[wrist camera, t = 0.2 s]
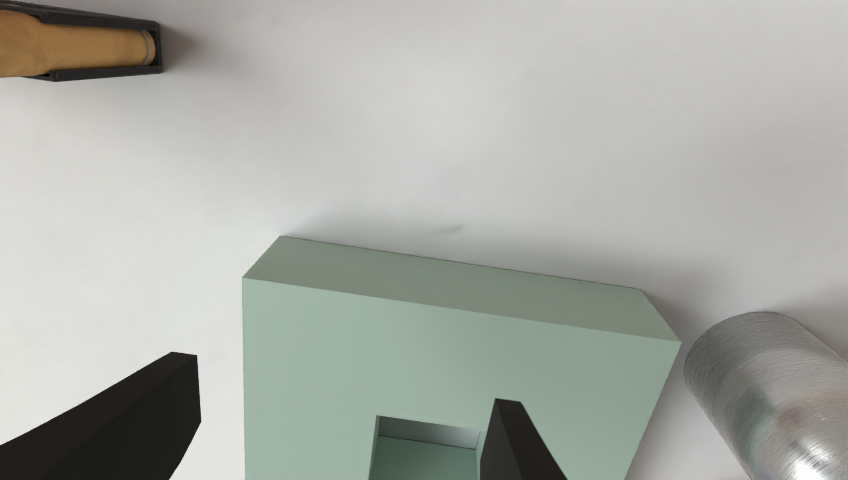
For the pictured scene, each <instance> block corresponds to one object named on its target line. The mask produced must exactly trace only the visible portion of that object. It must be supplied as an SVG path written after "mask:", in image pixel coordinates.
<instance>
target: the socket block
mask: <svg viewBox="0 0 848 480" xmlns="http://www.w3.org/2000/svg"><path fill="white" fill-rule="evenodd" d="M242 309H243V372H244V435H245V480H480V458H481V454H482V450H483V446H484V442H485V438H486V434H487V429H488V425H489V421H490V417H491V413H492V409H493V405H494V400H495V398H499V399H506V400H513V401H520V402H521V403H522V404H523V406H524V407H525V409H526V411H527V413H528V415H529V416H530V418H531V420H532V422H533V424H534V425H535V427H536V429H537V431H538V432H539V434H540V436H541V438H542V439H543V441H544V443H545V444H546V446H547V448H548V449H549V451H550V453H551V454H552V456H553V458H554V459H555V461H556V462H557V464H558V465H559V467H560V469H561V470H562V472H563V473H564V475H565V476H566V478H567V479H568V480H624V479H625V477H626V474H627V472H628V469H629V467H630V465H631V462H632V460H633V458H634V455H635V453H636V451H637V448H638V446H639V443H640V441H641V439H642V436H643V434H644V432H645V429H646V427H647V425H648V422H649V420H650V417H651V415H652V413H653V410H654V408H655V406H656V403H657V401H658V398H659V396H660V394H661V391H662V389H663V387H664V384H665V382H666V380H667V377H668V375H669V372H670V370H671V368H672V365H673V363H674V361H675V358H676V356H677V354H678V351H679V349H680V346H681V344H682V342H681V341H680V339H679V338H678V337H677V335H676V334H675V333H674V332H673V330H672V329H671V328H670V326H669V325H668V324H667V323H666V321H665V320H664V319H663V318H662V316H661V315H660V314H659V312H658V311H657V310H656V309H655V307H654V306H653V305H652V304H651V302H650V301H649V300H648V298H647V297H646V296H645V295H644V293H643V292H642V291H641V289H635V288H628V287H621V286H614V285H608V284H601V283H594V282H587V281H581V280H574V279H567V278H560V277H553V276H547V275H540V274H533V273H526V272H520V271H513V270H506V269H499V268H493V267H486V266H479V265H472V264H466V263H459V262H452V261H445V260H439V259H432V258H425V257H418V256H411V255H405V254H398V253H391V252H384V251H378V250H371V249H364V248H357V247H351V246H344V245H337V244H330V243H324V242H317V241H310V240H303V239H296V238H290V237H283V236H279V237H278V239H277V240H276V241H275V242H274V243H273V244H272V245H271V246H270V247H269V248H268V250H267V251H266V252H265V253H264V254H263V255H262V256H261V257H260V258H259V259H258V261H257V262H256V263H255V264H254V265H253V266H252V267H251V268H250V269H249V270H248V272H247V273H246V274H245V275H244V276H243V277H242ZM380 416H386V417H393V418H400V419H407V420H414V421H420V422H427V423H434V424H441V425H448V426H454V427H461V428H468V429H475V430H480V434H479V438H478V442H477V446H476V450H473V449H466V448H459V447H452V446H446V445H439V444H432V443H425V442H418V441H412V440H405V439H398V438H391V437H384V436H378V431H379V424H380Z"/></svg>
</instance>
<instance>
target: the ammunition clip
mask: <svg viewBox="0 0 848 480" xmlns="http://www.w3.org/2000/svg"><path fill="white" fill-rule="evenodd" d="M160 73H162V62H161V49H160V37H159V25H158V24H157V23H156V22H155V21H149V20H142V19H135V18H128V17H121V16H114V15H107V14H101V13H94V12H87V11H80V10H73V9H66V8H59V7H52V6H46V5H39V4H32V3H25V2H18V1H11V0H0V78H4V77H25V78H32V79H39V80H45V81H52V82H60V81H72V80H85V79H97V78H110V77H123V76H135V75H148V74H160Z"/></svg>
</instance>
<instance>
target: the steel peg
mask: <svg viewBox="0 0 848 480" xmlns="http://www.w3.org/2000/svg"><path fill="white" fill-rule="evenodd" d="M684 377H685V382H686V385H687V387H688V389H689V391H690V392H691V394H692V395H693V396H694V398H695V399H696V401H697V402H698V404H699V405H700V407H701V408H702V409H703V411H704V412H705V414H706V415H707V417H708V418H709V419H710V421H711V422H712V424H713V425H714V427H715V428H716V430H717V431H718V432H719V434H720V435H721V437H722V438H723V440H724V441H725V443H726V444H727V445H728V447H729V448H730V450H731V451H732V453H733V454H734V456H735V457H736V458H737V460H738V461H739V463H740V464H741V466H742V467H743V469H744V470H745V471H746V473H747V474H748V476H749V477H750V479H751V480H848V362H847V361H845V360H844V359H843V358H842V357H840V356H839V355H838V354H837V353H835V352H834V351H833V350H832V349H830V348H829V347H828V346H827V345H825V344H824V343H823V342H822V341H820V340H819V339H818V338H817V337H815V336H814V335H813V334H811V333H810V332H809V331H808V330H806V329H805V328H804V327H803V326H801V325H800V324H799V323H797V322H796V321H795V320H793V319H791V318H789V317H787V316H784V315H781V314H777V313H771V312H753V313H746V314H741V315H737V316H734V317H731V318H729V319H726V320H724V321H722V322H720V323H718V324H717V325H715V326H713V327H712V328H710V329H709V330H708V331H706V332H705V333H704V334H703V335H702V336H701V337H700V338H699V339H698V340H697V341H696V342H695V344H694V345H693V347H692V348H691V350H690V352H689V354H688V356H687V359H686V361H685V367H684Z"/></svg>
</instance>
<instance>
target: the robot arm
mask: <svg viewBox="0 0 848 480" xmlns="http://www.w3.org/2000/svg"><path fill="white" fill-rule="evenodd" d="M200 423H201V410H200V394H199V379H198V363H197V355H192V354H185V353H178V352H170V353H169V354H167V355H165V356H163V357H161V358H159V359H158V360H156V361H154V362H152V363H151V364H149V365H147V366H145V367H144V368H142V369H140V370H138V371H137V372H135V373H133V374H132V375H130V376H128V377H127V378H125V379H123V380H121V381H120V382H118V383H116V384H114V385H113V386H111V387H109V388H108V389H106V390H104V391H102V392H101V393H99V394H97V395H95V396H94V397H92V398H90V399H88V400H87V401H85V402H83V403H81V404H79V405H78V406H76V407H74V408H72V409H70V410H68V411H66V412H64V413H63V414H61V415H59V416H57V417H55V418H53V419H51V420H49V421H47V422H46V423H44V424H42V425H40V426H38V427H36V428H34V429H32V430H30V431H29V432H27V433H25V434H23V435H21V436H19V437H17V438H15V439H13V440H11V441H8V442H6V443H4V444H2V445H0V480H169V479H170V477H171V476H172V474H173V473H174V471H175V470H176V468H177V467H178V465H179V464H180V462H181V460H182V458H183V456H184V454H185V453H186V451H187V449H188V447H189V445H190V443H191V441H192V439H193V437H194V435H195V433H196V431H197V429H198V427H199V425H200ZM480 480H568V479H567V478H566V476H565V475H564V473H563V472H562V470H561V469H560V467H559V465H558V464H557V462H556V461H555V459H554V458H553V456H552V454H551V453H550V451H549V449H548V448H547V446H546V444H545V443H544V441H543V439H542V438H541V436H540V434H539V432H538V431H537V429H536V427H535V425H534V424H533V422H532V420H531V418H530V416H529V415H528V413H527V411H526V409H525V407H524V406H523V404H522V403H521V402H520V401H513V400H506V399H499V398H495V400H494V405H493V409H492V413H491V417H490V421H489V425H488V429H487V434H486V438H485V442H484V446H483V450H482V454H481V458H480Z"/></svg>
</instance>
